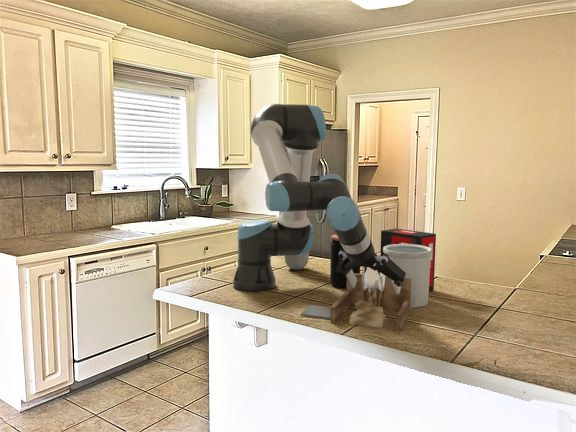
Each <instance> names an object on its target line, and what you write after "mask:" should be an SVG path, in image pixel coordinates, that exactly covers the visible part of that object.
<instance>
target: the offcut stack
mask: <svg viewBox="0 0 576 432" xmlns="http://www.w3.org/2000/svg"><path fill="white" fill-rule="evenodd" d="M354 308H355V309H356V310H354V311H352V313H351V314H350V315H349V324H350V325H358V326H365V327H372V328H380V329H383V328H384V326H385V324H386V321H387V319H386V317H387V316H386V314H384V315H383V313H384V309H383V307H373V303H372V302H367V301H362V300H360V301H358V302H356V303H355V306H354Z"/></svg>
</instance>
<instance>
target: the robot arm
mask: <svg viewBox="0 0 576 432" xmlns="http://www.w3.org/2000/svg"><path fill="white" fill-rule="evenodd" d="M326 134H327V125H326V118H325V115H324V112H323V110H322V108H321V107H319V106H318V105H313V104H312V105H310V104H306V103H305V104H291V103H290V104H287V103H285V104H283V103H274V104H269V105H267V106H264V107H263V108H262V109H260V110H259V111H258V112H257V113H256V114H255V116H254V117H253V119H252V121H251V125H250V135H251V139H252V141H253V144H255V146H256V147H258V151H259V154H260V156H261V159H262V164H263V165H264V170H265V173H266V176H267V179H268V183H266V187H265V191H264V192H265V194H264V196H265V198H264V200H265V206H266V208H267V209H268V211H270V212H281V214H280V215H278V216H277V220H276V223H272V222H271V220H269V219H256V220H250V221H246V222H242V223H241V224H240V225H239V226H238V228H237V236H236V238H237V266H236V270H235V273H234V277H233V280H232V282H233V283H232V285H233V286H232V287H233V288H234V289H236V290H240V291H244V292H259V291H267V290H271V289H273V288H275V287H276V276H275V273H274V270H273V267H272V265H271V259H272V257H285V256H288V255H295V256H297V255H303V254H307V253H308V252H309V253H310V251H311V249H312V247H313V245H314V238H315V235H314V232H315V230H314V229H315V228H314V225H313V224H312V223H310V219H309V218H308V217H306V216H307V211H310V212H312V211H313V212H314V211H325V213H326V216H327V219H328V222H329V224H330V225H331V228H332V229H333V231H334V233H335V234H336V235H337V236H338V239H339V241H340V243H341V245H342V247H343V249H341V250H340V252H339V255H338V259H339V262H338V265H337V268H336V272H337V273H339V272H342V274H344V276H345V278H346V279H348V280H349V282H350V284H351V286H352V287H353V288H355V285H356V282H357V278H356V276H355V274H354V272H353V270H352V268H355V267H356V266H358V265H359V266H360V268H361V267H362V268H363V267H368V268H371V269H373V270H374V271H376V270H377V271H379V272H380V273H382V274H383V275H385V276H387V277H388V278H390V279H391V280H392V285H393V287H394V290H395V292H396V294H398V295H399V293H400V289H401V283H402V282H403V281H404V278H405V275H406V273H405V272H404V271H403V270H402V269H401V268H400V267H399V266H397V265H396V264H395V263H394V262H393V261H392V260H391V259H390V258H389V257H388V255H387V254H385V253H384V254H383V256H380V255H378V254H377V253H376V251H375V247H374V244H373V242H372V240H371V237H370V234H369V233H368V229H367V228H366V226H365V224H364V221H363V218H362V216H361V213H360V209H359V208H358V205H357V204H356V203H355V201H354V199H353V198H352V195H351V194H350V193H351V192H350V190H349V187H348V185H347V183H346V182H345V180H343V178H342V177H341V176H340V175H338V174H336V173H327V174H326V175H323V176H322V177H320V178H319V180H318V181H311V172H312V162H313V161H312V160H313V153H314V152H315V151H317V149H318V147H319V143H321V142H324V141H325V138H326ZM346 257H347V258H348V259H349V260H350V261H349V262H348V263H347V264H345V266H342V265H343V262H344V260H345V259H346ZM375 263H376V264H375ZM374 264H375V266H374Z"/></svg>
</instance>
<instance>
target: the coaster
mask: <svg viewBox="0 0 576 432" xmlns="http://www.w3.org/2000/svg"><path fill="white" fill-rule="evenodd" d="M300 316H302V317H308V318H315V319H316V318H317V319H322V320H331V306H324V305H323V306H322V305H316V304H310V305H309V306H307V308H305V309H304V310H303V311H302V312H301V313H300Z"/></svg>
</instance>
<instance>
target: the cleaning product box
mask: <svg viewBox="0 0 576 432" xmlns="http://www.w3.org/2000/svg"><path fill="white" fill-rule="evenodd" d="M436 242H437V234H436V233H432V232H426V231H418V230H412V229H410V230H409V229H405V228H404V229H402V228H397V227H396V228H391V229H384V230H380V255H379V256H383V254H384V252H383V247H384V246H387V245H392V244H414V245H421V246H426V247H429V248H431V250H432V253H431V255H430V277H429V293H430V292H434V289H435V269H436V268H435V267H436V245H437V244H436Z"/></svg>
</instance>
